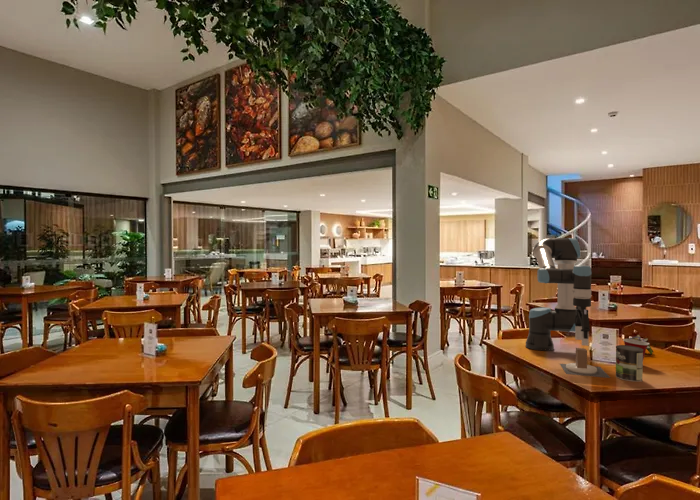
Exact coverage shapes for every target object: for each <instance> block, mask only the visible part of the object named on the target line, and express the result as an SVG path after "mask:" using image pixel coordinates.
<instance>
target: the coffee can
mask: <svg viewBox="0 0 700 500" xmlns="http://www.w3.org/2000/svg"><path fill="white" fill-rule="evenodd" d="M643 362H644V359H643V349H642V348H639V347H635V346H628V345H625V344H619V345H616V346H615V377H616V378H617V379H620V380H623V381H628V382H643V381H644V380H643V374H644V373H643V370H644V369H643V368H644V367H643V366H644V364H643Z"/></svg>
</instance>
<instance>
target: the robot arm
mask: <svg viewBox="0 0 700 500" xmlns="http://www.w3.org/2000/svg"><path fill="white" fill-rule="evenodd" d="M532 251H533V256H534V258H535V259H537V260H536V261H537V265H538V267H539V268H538V269H537V273H536V275H537V276H536V277H537V278H536V279H537V282H538V283H542V284H557V305H556V306H554V310H552V308H551V307H534V308H531V309H530V310H529V314H528V336H527V338H526V340H525V347H526V348H527V349H531V350H536V351H548V352H549V351H554V349H555V348H554V347H555V346H554V342H553V338H552V336H551V333H552V332H554V331H555V332H567V333H573V332H574V334H575V335H574V336H575V337H574V338H575V340H580V341H581V346H587V347H589V336H590V335H589V332H590V331H591V328H590V327H591V326H590V318H589V316H590V315H589V309H587V308H590V307H591V306H592V299H591V298H592V274H593V273H592V267H591V266H590V265H575V264H576V263H577V262H578V259H580V258H581V247H580V243H579V241H578V239H577V238H573V237H549V238H544V239H541V240H540V241H538V242H537V243H536V244H535V245H534V247H533V250H532ZM554 262H555V263H556V264H557V267H556V265H555V263H554ZM551 331H552V332H551Z"/></svg>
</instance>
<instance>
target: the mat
mask: <svg viewBox="0 0 700 500" xmlns="http://www.w3.org/2000/svg"><path fill="white" fill-rule="evenodd" d="M566 364H567V363H559V365H560V367H561V368H562V369H563V371H564V373H565V374H566V375H574V376H586V377H595V378H607V379H611V377H610V375H608V373H607V372H605V371H604V369H603V368H602V367H601V366H594V365H593V366H594V367H596V368H597V373H596V374H580V373H575V372H571V371H569V370H567V369H566Z"/></svg>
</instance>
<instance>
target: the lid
mask: <svg viewBox="0 0 700 500" xmlns="http://www.w3.org/2000/svg"><path fill="white" fill-rule="evenodd" d="M565 364H566V369H567V370H569V371H571V372H575V373H580V374H596V373H597V368H596V367H597V366H595V367H594V365H590V364H588V350H587V348H584V347H583V348H581V347H575V362H571V363H565Z"/></svg>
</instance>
